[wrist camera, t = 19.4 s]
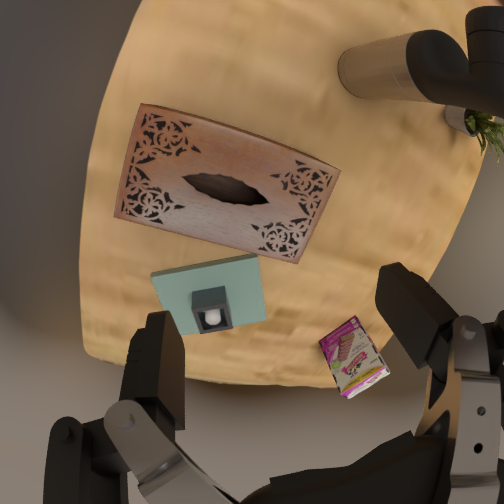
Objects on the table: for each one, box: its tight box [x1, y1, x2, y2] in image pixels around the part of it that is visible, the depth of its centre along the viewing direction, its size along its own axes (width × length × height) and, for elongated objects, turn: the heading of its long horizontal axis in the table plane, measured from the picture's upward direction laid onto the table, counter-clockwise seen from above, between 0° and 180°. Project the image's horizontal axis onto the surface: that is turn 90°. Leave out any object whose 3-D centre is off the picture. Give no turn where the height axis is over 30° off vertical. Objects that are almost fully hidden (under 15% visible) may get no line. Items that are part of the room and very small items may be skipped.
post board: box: [151, 253, 267, 335], centre depth 48 cm, size 19×15×6 cm
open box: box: [191, 286, 233, 334], centre depth 48 cm, size 6×6×5 cm
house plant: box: [445, 105, 504, 165], centre depth 33 cm, size 14×14×16 cm
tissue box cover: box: [114, 103, 341, 264], centre depth 36 cm, size 26×14×10 cm, turn 69°
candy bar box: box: [319, 316, 390, 399], centre depth 55 cm, size 11×5×16 cm, turn 130°
